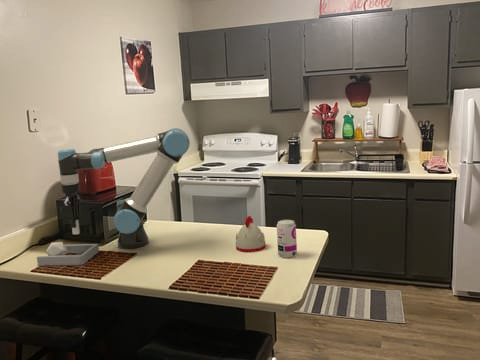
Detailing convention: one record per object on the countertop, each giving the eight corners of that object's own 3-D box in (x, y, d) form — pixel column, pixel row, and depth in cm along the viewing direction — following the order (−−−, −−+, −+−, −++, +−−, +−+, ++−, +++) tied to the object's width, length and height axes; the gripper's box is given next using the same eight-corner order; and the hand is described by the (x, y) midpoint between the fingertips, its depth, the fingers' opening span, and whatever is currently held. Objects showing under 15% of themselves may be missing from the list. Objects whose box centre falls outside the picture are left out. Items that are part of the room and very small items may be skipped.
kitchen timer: (231, 251, 204) (229, 219, 202) (242, 242, 217) (240, 212, 214) (260, 253, 199) (258, 220, 196) (269, 243, 211) (268, 213, 209)
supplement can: (299, 253, 196) (298, 219, 194) (293, 259, 189) (292, 225, 186) (281, 251, 200) (280, 218, 197) (275, 257, 192) (273, 224, 190)
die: (55, 264, 203) (66, 245, 205) (39, 255, 204) (50, 237, 206) (62, 264, 211) (73, 246, 213) (47, 256, 212) (58, 238, 214)
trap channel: (99, 251, 216) (98, 243, 215) (83, 264, 199) (82, 256, 198) (56, 252, 218) (55, 245, 217) (37, 265, 201) (36, 257, 201)
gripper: (69, 181, 209) (75, 229, 213) (54, 186, 196) (61, 238, 200) (84, 180, 208) (90, 229, 212) (71, 186, 195) (77, 238, 199)
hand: (76, 233), depth 206 cm, fingers closed
